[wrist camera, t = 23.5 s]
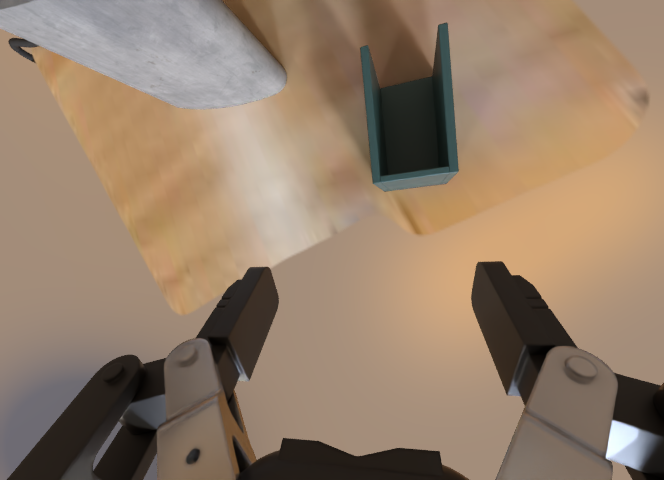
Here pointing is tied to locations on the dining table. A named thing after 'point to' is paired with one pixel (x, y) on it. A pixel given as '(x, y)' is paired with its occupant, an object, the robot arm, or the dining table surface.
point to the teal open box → (412, 124)
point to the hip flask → (155, 46)
